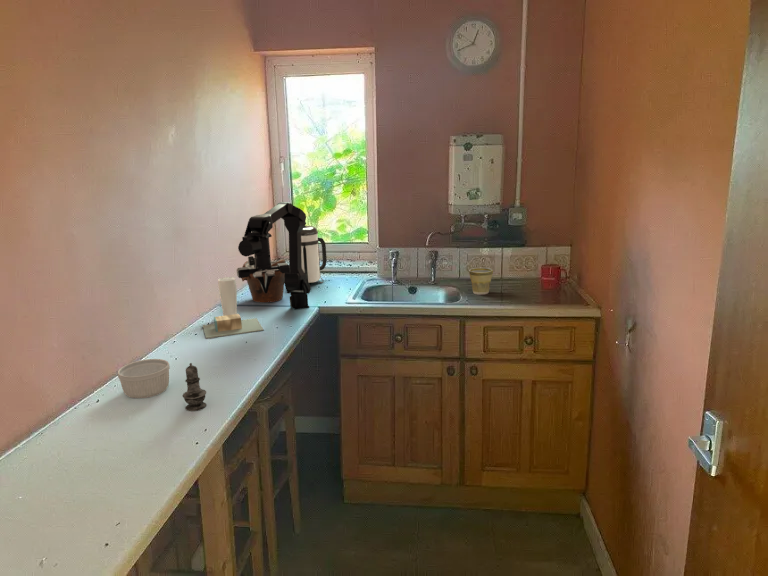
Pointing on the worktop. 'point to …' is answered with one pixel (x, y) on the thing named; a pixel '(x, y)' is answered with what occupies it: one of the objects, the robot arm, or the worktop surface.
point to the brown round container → (274, 288)
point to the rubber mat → (247, 327)
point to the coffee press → (312, 254)
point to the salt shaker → (194, 390)
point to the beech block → (227, 322)
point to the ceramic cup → (480, 280)
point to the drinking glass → (228, 295)
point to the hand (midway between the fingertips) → (265, 293)
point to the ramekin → (144, 378)
